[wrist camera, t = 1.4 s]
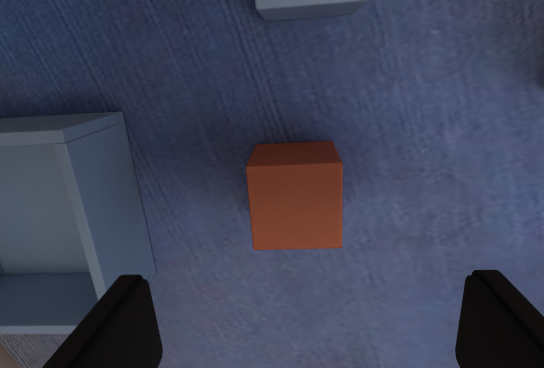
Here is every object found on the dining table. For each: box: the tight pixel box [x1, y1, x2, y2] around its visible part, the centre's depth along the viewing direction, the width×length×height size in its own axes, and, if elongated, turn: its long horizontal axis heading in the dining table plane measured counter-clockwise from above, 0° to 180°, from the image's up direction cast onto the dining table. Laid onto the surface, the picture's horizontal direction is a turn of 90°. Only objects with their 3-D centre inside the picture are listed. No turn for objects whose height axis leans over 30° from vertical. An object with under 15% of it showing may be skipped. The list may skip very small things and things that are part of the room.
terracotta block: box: [246, 141, 343, 250], centre depth 19 cm, size 4×4×4 cm
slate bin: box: [0, 111, 156, 334], centre depth 20 cm, size 11×11×6 cm
